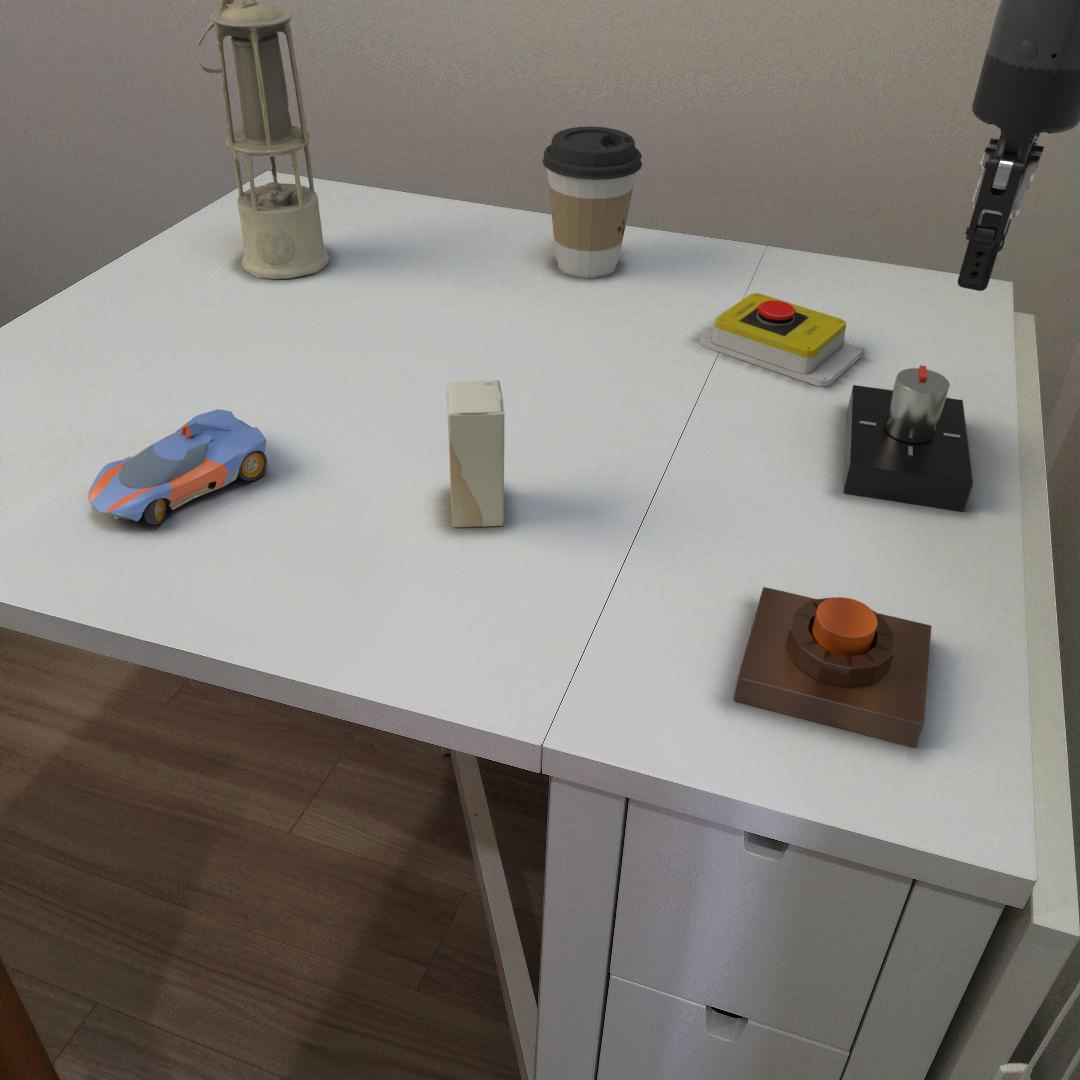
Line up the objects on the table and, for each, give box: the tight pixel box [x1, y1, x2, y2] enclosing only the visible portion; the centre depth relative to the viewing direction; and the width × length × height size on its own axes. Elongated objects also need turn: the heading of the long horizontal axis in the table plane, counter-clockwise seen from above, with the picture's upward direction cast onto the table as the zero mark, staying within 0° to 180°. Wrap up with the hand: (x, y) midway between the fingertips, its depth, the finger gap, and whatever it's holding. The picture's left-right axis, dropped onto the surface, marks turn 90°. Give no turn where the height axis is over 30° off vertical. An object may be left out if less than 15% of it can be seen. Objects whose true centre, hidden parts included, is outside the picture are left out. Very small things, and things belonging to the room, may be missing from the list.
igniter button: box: [812, 596, 878, 656], centre depth 71 cm, size 4×4×2 cm
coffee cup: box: [541, 125, 643, 279], centre depth 123 cm, size 11×11×15 cm
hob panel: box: [842, 384, 974, 512], centre depth 95 cm, size 14×10×3 cm
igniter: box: [733, 586, 933, 748], centre depth 73 cm, size 12×10×4 cm
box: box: [446, 379, 505, 528], centre depth 85 cm, size 5×4×11 cm
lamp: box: [198, 0, 330, 280], centre depth 118 cm, size 10×13×30 cm
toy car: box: [87, 409, 268, 525], centre depth 88 cm, size 8×15×5 cm, turn 138°
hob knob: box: [884, 364, 950, 443], centre depth 92 cm, size 4×4×5 cm
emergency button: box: [698, 292, 863, 388], centre depth 110 cm, size 9×4×15 cm
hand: (979, 267), depth 85 cm, fingers open, 8 cm apart
